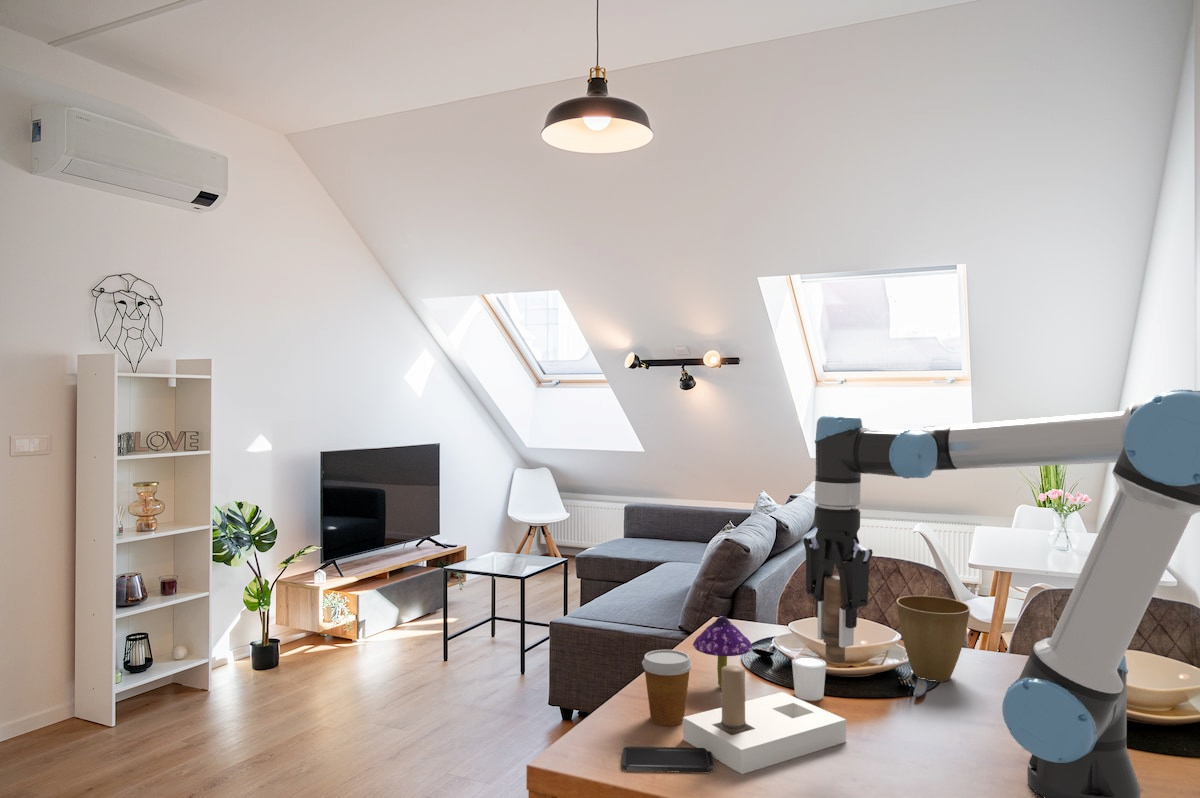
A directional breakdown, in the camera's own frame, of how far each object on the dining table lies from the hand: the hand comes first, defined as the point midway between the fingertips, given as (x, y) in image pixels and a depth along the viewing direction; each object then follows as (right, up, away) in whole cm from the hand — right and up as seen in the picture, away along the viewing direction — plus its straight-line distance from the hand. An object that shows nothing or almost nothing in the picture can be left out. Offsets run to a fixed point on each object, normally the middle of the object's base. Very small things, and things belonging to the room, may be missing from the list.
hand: (835, 641), depth 142 cm
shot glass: (+3, -19, +28) cm, 34 cm away
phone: (-29, -20, -2) cm, 35 cm away
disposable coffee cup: (-28, -20, +16) cm, 37 cm away
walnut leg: (0, -3, 0) cm, 3 cm away
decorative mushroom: (-14, -19, +33) cm, 41 cm away
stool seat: (-11, -19, +6) cm, 23 cm away
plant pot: (+32, -19, +38) cm, 54 cm away
